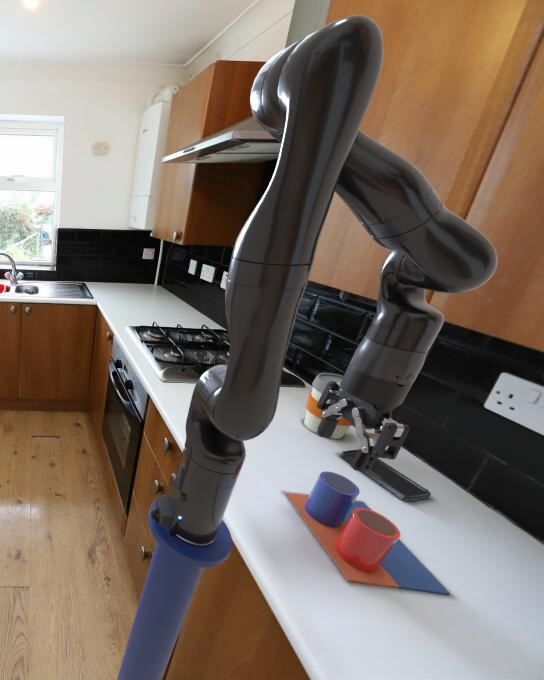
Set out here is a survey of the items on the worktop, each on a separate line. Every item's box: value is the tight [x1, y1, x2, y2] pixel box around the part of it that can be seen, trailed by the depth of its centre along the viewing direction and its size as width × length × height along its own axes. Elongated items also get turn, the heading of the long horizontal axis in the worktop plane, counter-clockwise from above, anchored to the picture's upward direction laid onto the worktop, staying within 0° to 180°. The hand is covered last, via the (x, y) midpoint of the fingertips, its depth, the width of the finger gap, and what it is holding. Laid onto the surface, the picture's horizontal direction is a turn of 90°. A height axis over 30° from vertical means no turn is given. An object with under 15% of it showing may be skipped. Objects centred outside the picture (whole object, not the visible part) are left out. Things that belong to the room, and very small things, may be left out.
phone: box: [339, 449, 432, 502], centre depth 84 cm, size 8×1×15 cm
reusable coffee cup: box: [303, 372, 353, 440], centre depth 98 cm, size 13×13×15 cm
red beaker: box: [334, 508, 401, 572], centre depth 62 cm, size 6×6×8 cm
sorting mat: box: [285, 492, 451, 596], centre depth 68 cm, size 16×19×1 cm
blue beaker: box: [304, 470, 361, 527], centre depth 70 cm, size 6×6×8 cm
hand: (339, 451), depth 61 cm, fingers open, 8 cm apart
